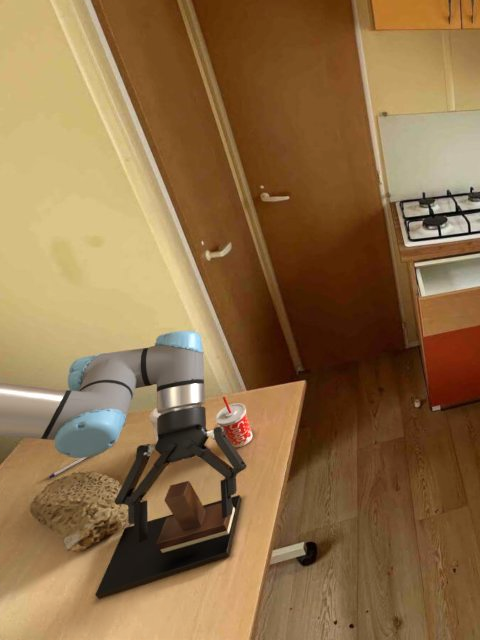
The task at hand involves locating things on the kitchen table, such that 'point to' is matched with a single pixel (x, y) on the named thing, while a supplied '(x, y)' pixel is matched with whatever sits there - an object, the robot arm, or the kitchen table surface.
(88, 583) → the kitchen table surface
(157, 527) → the panel
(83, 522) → the sponge
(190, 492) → the brown block
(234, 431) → the beverage cup
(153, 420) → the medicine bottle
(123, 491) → the robot arm
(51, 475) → the ballpoint pen
